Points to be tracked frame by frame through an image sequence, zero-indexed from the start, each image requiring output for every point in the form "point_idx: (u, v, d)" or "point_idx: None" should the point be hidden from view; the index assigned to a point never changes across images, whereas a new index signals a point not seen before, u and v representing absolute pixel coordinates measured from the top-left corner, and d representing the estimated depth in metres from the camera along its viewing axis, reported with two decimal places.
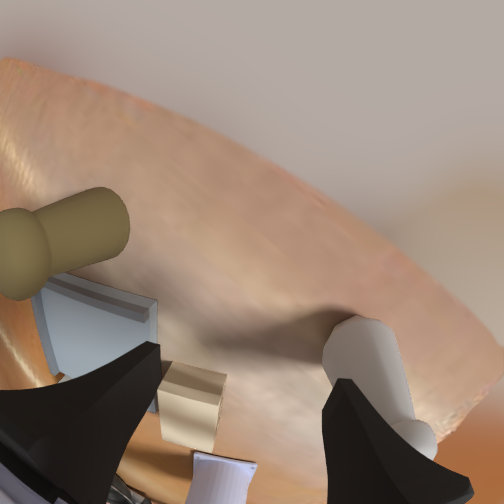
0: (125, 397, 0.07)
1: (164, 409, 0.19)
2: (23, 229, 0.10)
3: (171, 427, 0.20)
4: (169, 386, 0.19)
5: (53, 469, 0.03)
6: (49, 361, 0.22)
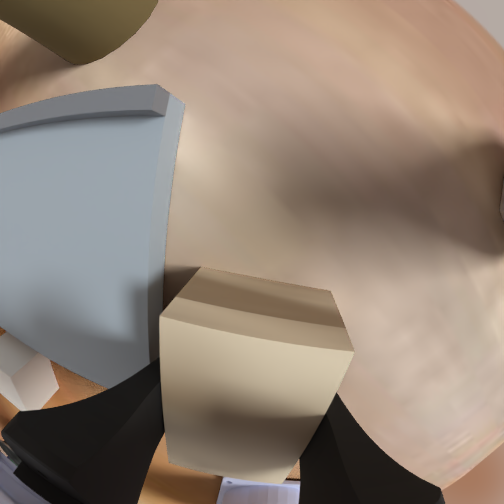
0: (154, 408, 0.07)
1: (177, 388, 0.07)
2: None
3: (192, 437, 0.08)
4: (197, 310, 0.07)
5: (89, 492, 0.03)
6: None
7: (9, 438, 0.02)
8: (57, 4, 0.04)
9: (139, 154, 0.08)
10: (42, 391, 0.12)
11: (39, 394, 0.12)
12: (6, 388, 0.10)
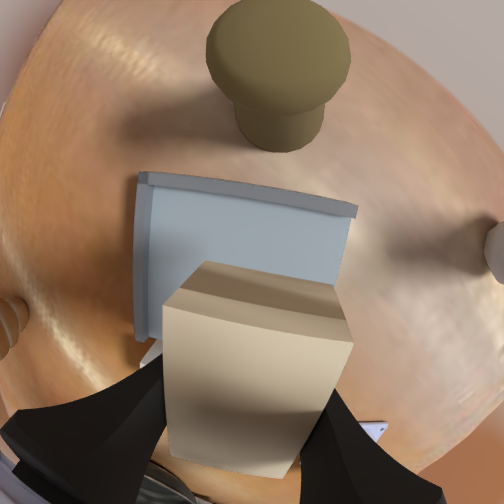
0: (153, 407, 0.07)
1: (179, 378, 0.07)
2: None
3: (194, 429, 0.08)
4: (200, 300, 0.07)
5: (86, 490, 0.03)
6: (140, 319, 0.19)
7: (7, 436, 0.02)
8: (301, 130, 0.13)
9: (337, 233, 0.17)
10: None
11: None
12: None
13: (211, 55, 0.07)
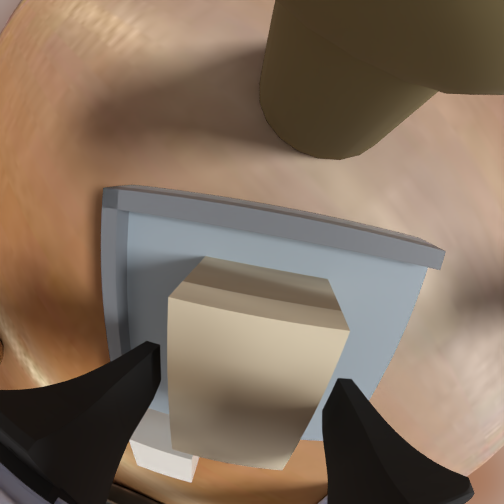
0: (125, 397, 0.07)
1: (182, 369, 0.08)
2: None
3: (196, 420, 0.08)
4: (203, 292, 0.08)
5: (52, 469, 0.03)
6: None
7: None
8: (390, 127, 0.06)
9: (408, 288, 0.10)
10: None
11: (197, 458, 0.14)
12: (163, 465, 0.12)
13: None
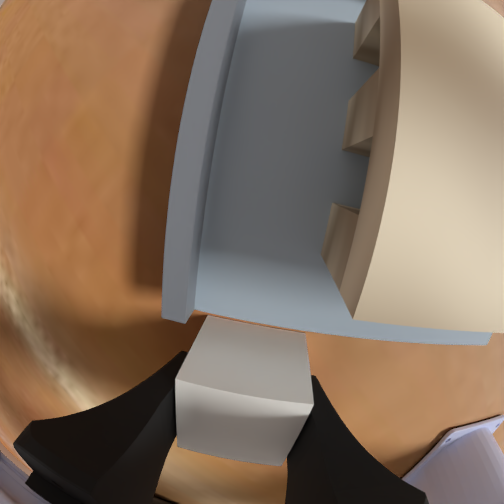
0: (168, 412, 0.07)
1: (424, 27, 0.03)
2: None
3: (447, 162, 0.03)
4: None
5: (107, 500, 0.03)
6: (183, 255, 0.07)
7: (23, 450, 0.02)
8: None
9: None
10: None
11: None
12: (238, 436, 0.07)
13: None
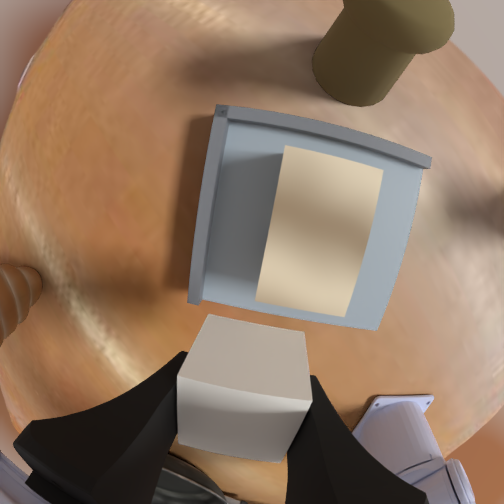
0: (168, 412, 0.07)
1: (286, 197, 0.13)
2: None
3: (286, 251, 0.13)
4: None
5: (106, 500, 0.03)
6: (198, 275, 0.17)
7: (23, 450, 0.02)
8: (391, 79, 0.11)
9: (411, 184, 0.15)
10: None
11: None
12: (238, 432, 0.08)
13: None
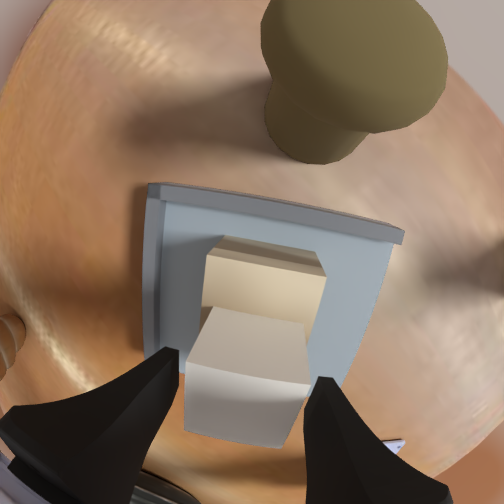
0: (147, 405, 0.07)
1: None
2: None
3: None
4: (229, 253, 0.12)
5: (79, 486, 0.03)
6: (151, 351, 0.17)
7: (2, 431, 0.02)
8: (353, 143, 0.10)
9: (378, 260, 0.14)
10: None
11: None
12: (241, 417, 0.08)
13: (277, 36, 0.04)
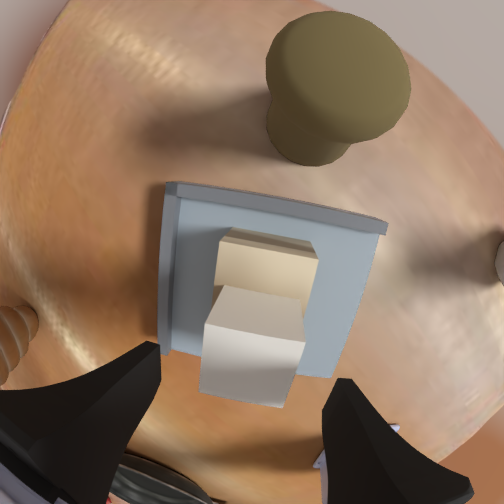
0: (125, 397, 0.07)
1: None
2: None
3: None
4: (237, 240, 0.14)
5: (52, 469, 0.03)
6: (164, 332, 0.19)
7: None
8: (341, 149, 0.13)
9: (365, 249, 0.17)
10: None
11: None
12: (249, 374, 0.11)
13: (278, 73, 0.07)
